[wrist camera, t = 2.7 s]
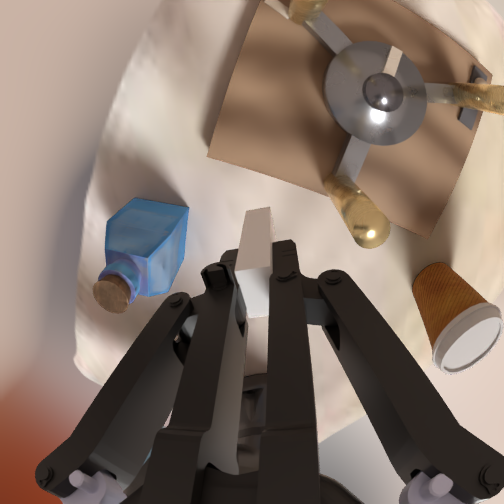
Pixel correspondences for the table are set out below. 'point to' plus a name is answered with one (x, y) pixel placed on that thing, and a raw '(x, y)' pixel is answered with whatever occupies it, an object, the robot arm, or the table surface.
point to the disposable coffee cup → (455, 319)
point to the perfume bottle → (141, 252)
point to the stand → (322, 124)
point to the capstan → (375, 110)
